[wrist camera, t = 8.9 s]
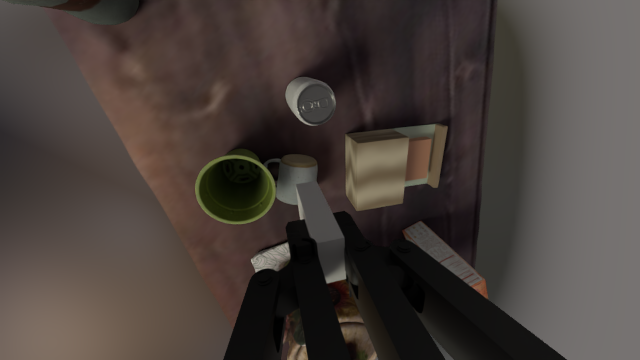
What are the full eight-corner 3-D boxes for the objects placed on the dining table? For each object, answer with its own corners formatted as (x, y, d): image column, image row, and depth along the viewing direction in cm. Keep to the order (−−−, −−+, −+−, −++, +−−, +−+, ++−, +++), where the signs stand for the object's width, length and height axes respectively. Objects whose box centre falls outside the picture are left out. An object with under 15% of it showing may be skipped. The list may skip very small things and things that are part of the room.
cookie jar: (366, 286, 71) (439, 434, 43) (282, 318, 69) (299, 497, 41) (348, 216, 60) (431, 354, 31) (247, 252, 58) (238, 435, 29)
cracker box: (432, 254, 72) (493, 321, 53) (413, 264, 72) (468, 334, 53) (422, 218, 65) (488, 280, 47) (401, 229, 65) (458, 295, 46)
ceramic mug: (314, 152, 51) (322, 166, 44) (311, 189, 55) (318, 206, 48) (261, 150, 49) (260, 164, 42) (260, 188, 52) (260, 207, 45)
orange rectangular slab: (431, 138, 53) (426, 136, 55) (405, 142, 52) (400, 139, 54) (426, 177, 57) (421, 174, 59) (402, 181, 56) (397, 178, 58)
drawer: (391, 128, 53) (398, 132, 50) (438, 123, 55) (447, 126, 52) (387, 188, 59) (393, 194, 56) (429, 181, 61) (437, 187, 58)
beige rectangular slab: (345, 133, 51) (357, 143, 45) (391, 128, 53) (409, 137, 47) (346, 195, 57) (356, 211, 51) (387, 188, 59) (402, 203, 53)
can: (282, 79, 44) (290, 83, 34) (318, 74, 45) (336, 77, 35) (288, 116, 47) (297, 131, 37) (322, 110, 48) (340, 124, 38)
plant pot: (246, 123, 46) (244, 139, 36) (283, 172, 52) (290, 198, 42) (193, 158, 47) (176, 184, 37) (235, 203, 52) (230, 236, 42)
